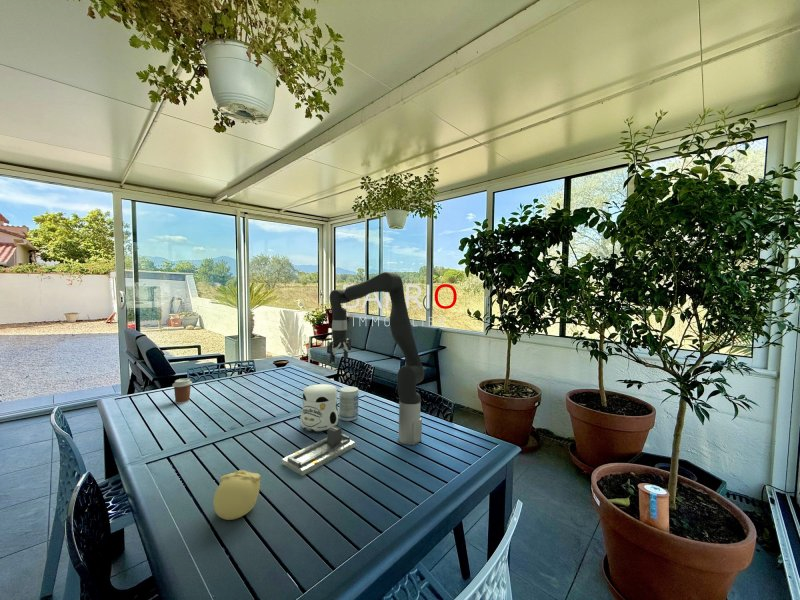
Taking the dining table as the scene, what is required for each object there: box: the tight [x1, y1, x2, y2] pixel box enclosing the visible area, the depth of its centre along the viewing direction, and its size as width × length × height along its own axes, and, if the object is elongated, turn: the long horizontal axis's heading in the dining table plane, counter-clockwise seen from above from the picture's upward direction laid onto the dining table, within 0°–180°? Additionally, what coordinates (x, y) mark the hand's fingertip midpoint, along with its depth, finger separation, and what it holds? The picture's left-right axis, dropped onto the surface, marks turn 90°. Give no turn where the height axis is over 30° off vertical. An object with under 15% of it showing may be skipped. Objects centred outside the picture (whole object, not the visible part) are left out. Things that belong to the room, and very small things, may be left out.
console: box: [281, 433, 356, 477], centre depth 123 cm, size 26×12×3 cm, turn 144°
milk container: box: [300, 383, 340, 433], centre depth 147 cm, size 17×17×18 cm
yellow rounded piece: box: [212, 469, 262, 521], centre depth 92 cm, size 11×12×11 cm
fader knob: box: [326, 425, 343, 446], centre depth 128 cm, size 4×4×6 cm
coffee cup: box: [172, 378, 193, 405], centre depth 175 cm, size 9×9×12 cm
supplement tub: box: [338, 386, 360, 422], centre depth 159 cm, size 10×10×15 cm
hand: (339, 360), depth 160 cm, fingers open, 8 cm apart
